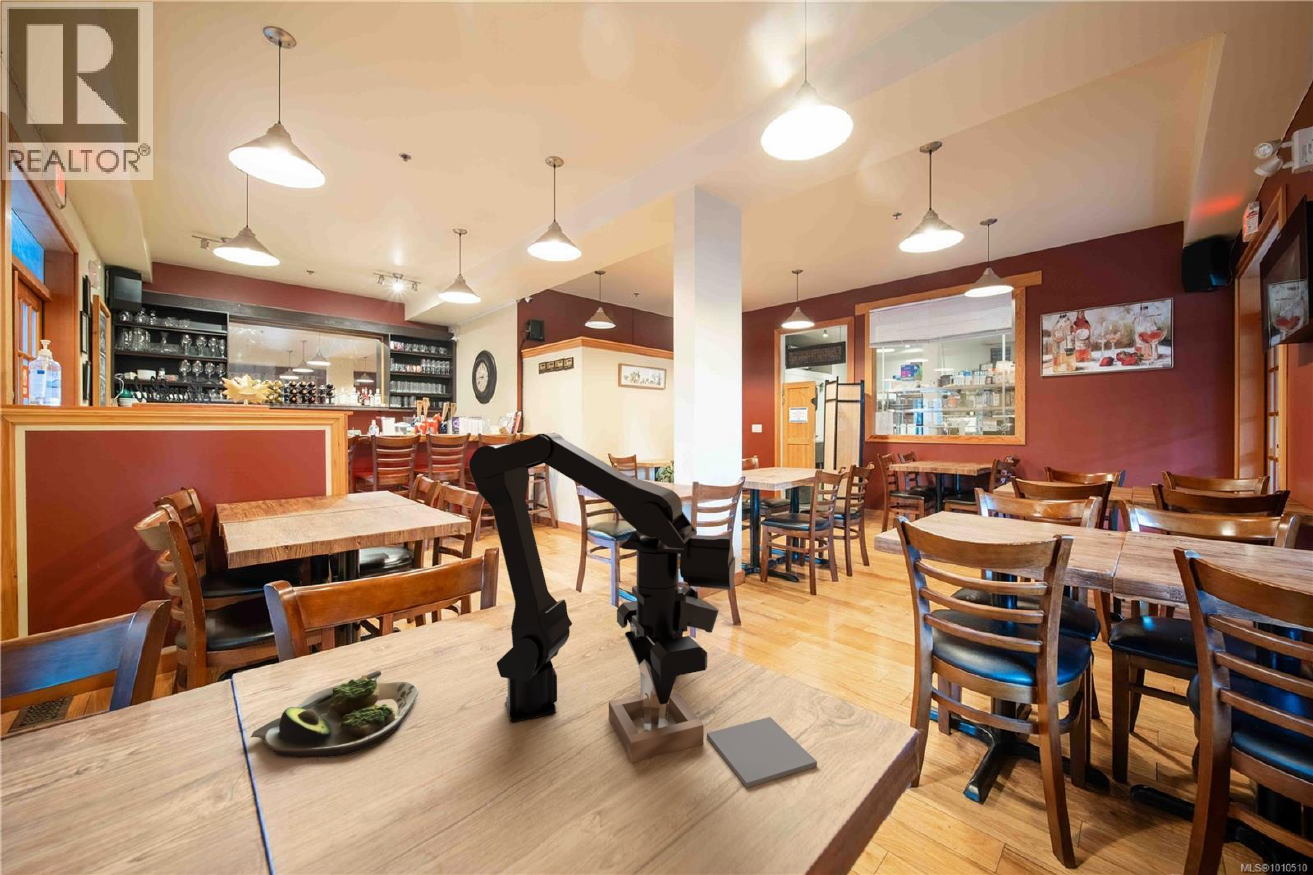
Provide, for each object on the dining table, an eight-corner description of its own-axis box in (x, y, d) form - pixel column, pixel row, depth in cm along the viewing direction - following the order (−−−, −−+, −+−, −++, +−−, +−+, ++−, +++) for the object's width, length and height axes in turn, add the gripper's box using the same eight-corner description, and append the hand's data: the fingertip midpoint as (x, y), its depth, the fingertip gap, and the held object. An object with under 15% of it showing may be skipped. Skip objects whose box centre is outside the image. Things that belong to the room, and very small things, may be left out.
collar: (631, 762, 62) (631, 742, 62) (608, 718, 72) (608, 701, 72) (703, 743, 66) (703, 724, 66) (673, 703, 75) (673, 687, 75)
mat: (746, 788, 58) (746, 782, 58) (706, 737, 67) (706, 733, 67) (817, 766, 62) (817, 761, 62) (769, 720, 71) (769, 716, 71)
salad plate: (328, 682, 82) (327, 655, 82) (438, 681, 83) (438, 653, 83) (232, 763, 63) (231, 727, 63) (377, 760, 63) (376, 724, 63)
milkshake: (677, 715, 71) (678, 646, 71) (665, 738, 66) (666, 664, 66) (647, 708, 73) (648, 641, 72) (633, 730, 68) (634, 658, 67)
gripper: (745, 597, 63) (744, 720, 63) (682, 558, 80) (682, 655, 80) (662, 609, 59) (662, 740, 59) (615, 566, 76) (615, 668, 76)
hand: (657, 695), depth 69 cm, fingers closed on milkshake, 4 cm apart
